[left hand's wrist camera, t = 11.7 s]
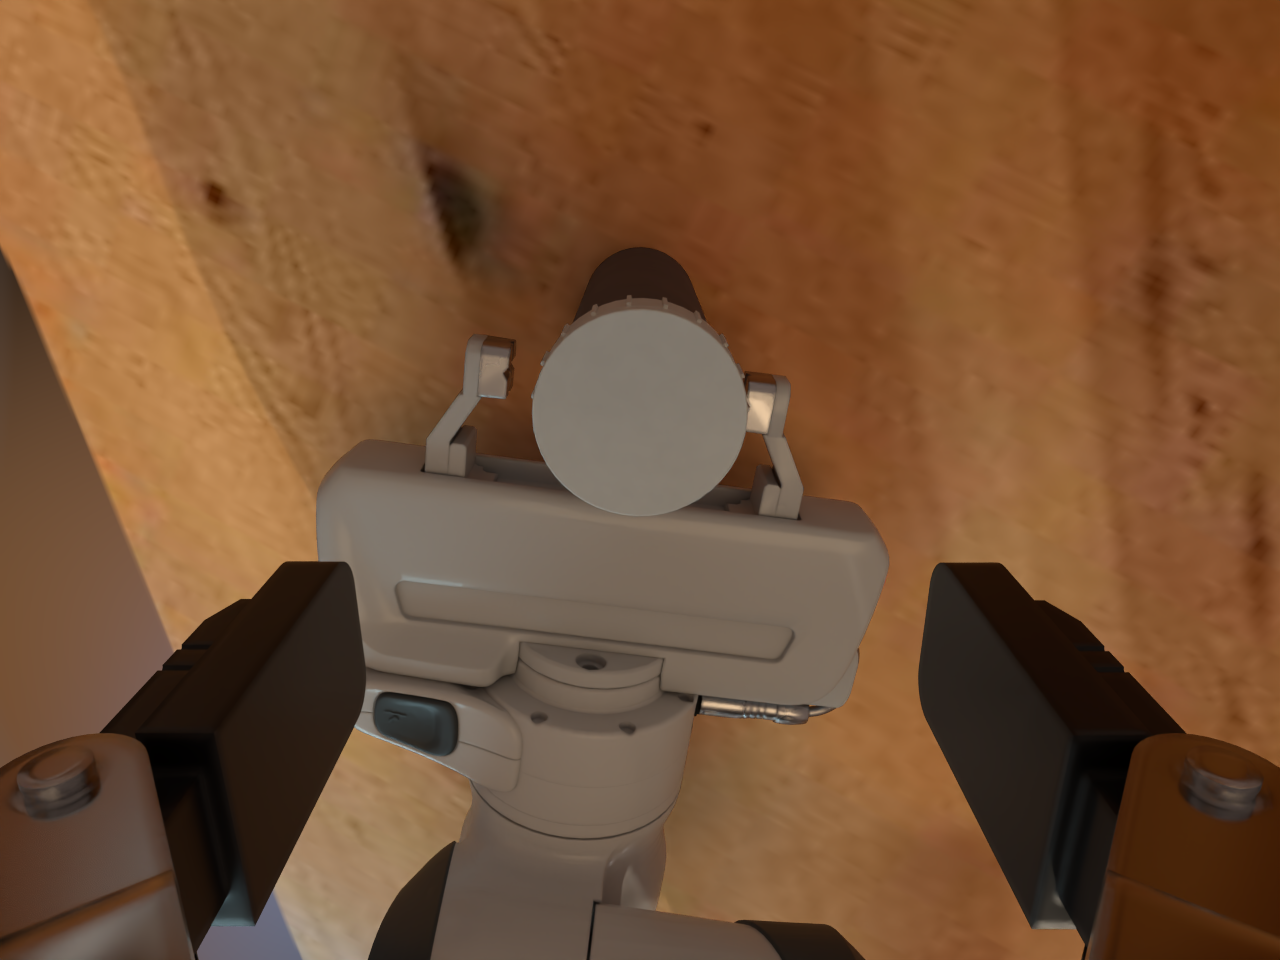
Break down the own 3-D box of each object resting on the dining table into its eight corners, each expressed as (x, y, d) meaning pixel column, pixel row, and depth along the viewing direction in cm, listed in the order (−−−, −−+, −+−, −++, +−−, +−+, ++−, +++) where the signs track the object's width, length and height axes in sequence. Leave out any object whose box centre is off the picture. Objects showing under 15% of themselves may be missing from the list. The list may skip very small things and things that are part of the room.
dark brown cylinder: (578, 253, 34) (532, 327, 20) (690, 241, 34) (728, 307, 20) (591, 363, 36) (558, 507, 21) (698, 352, 36) (739, 490, 21)
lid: (521, 305, 21) (513, 317, 19) (737, 283, 21) (745, 293, 19) (551, 502, 23) (544, 527, 21) (749, 484, 22) (756, 508, 21)
